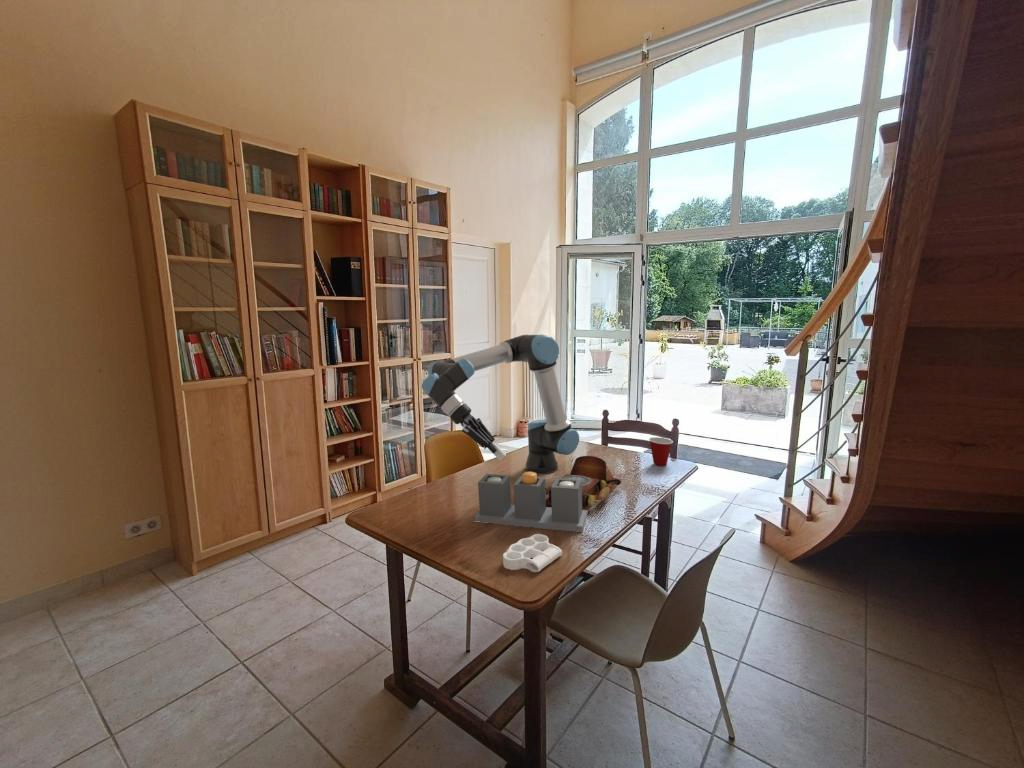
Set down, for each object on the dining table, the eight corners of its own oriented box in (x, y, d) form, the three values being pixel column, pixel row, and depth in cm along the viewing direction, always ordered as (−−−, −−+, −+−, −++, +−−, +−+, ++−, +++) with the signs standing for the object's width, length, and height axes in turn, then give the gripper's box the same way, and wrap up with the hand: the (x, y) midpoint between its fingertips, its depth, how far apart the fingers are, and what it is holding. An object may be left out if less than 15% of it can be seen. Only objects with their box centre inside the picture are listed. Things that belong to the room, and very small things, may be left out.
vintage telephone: (628, 455, 193) (594, 486, 158) (628, 483, 194) (595, 520, 160) (574, 448, 205) (532, 476, 171) (574, 475, 206) (533, 508, 172)
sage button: (485, 492, 162) (485, 481, 162) (490, 487, 167) (489, 476, 167) (499, 493, 161) (498, 482, 161) (503, 487, 166) (503, 477, 165)
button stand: (474, 522, 161) (472, 484, 159) (486, 507, 173) (484, 471, 171) (582, 532, 150) (581, 491, 149) (587, 515, 163) (586, 477, 161)
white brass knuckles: (531, 580, 125) (492, 563, 134) (568, 553, 138) (530, 539, 148) (531, 569, 124) (491, 552, 134) (568, 542, 138) (530, 529, 147)
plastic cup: (676, 467, 210) (676, 442, 208) (652, 468, 210) (652, 442, 208) (668, 460, 220) (668, 436, 219) (645, 461, 221) (646, 436, 219)
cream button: (558, 497, 155) (558, 485, 155) (560, 491, 160) (560, 480, 159) (573, 498, 154) (572, 486, 153) (575, 492, 159) (575, 481, 158)
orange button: (521, 487, 159) (520, 476, 158) (524, 482, 163) (524, 471, 163) (535, 488, 157) (534, 476, 157) (538, 483, 162) (537, 472, 161)
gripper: (457, 413, 170) (502, 459, 168) (442, 420, 158) (490, 470, 156) (470, 399, 168) (515, 445, 166) (455, 406, 156) (504, 456, 153)
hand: (503, 457), depth 161 cm, fingers closed
